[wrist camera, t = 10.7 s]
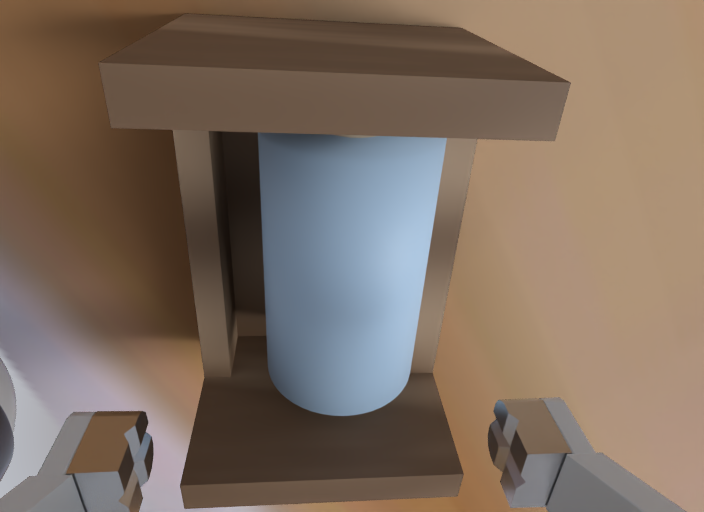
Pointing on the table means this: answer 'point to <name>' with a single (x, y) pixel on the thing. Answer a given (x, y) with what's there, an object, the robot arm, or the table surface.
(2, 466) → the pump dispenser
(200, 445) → the open wooden box
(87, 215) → the table surface
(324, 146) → the blue roll
